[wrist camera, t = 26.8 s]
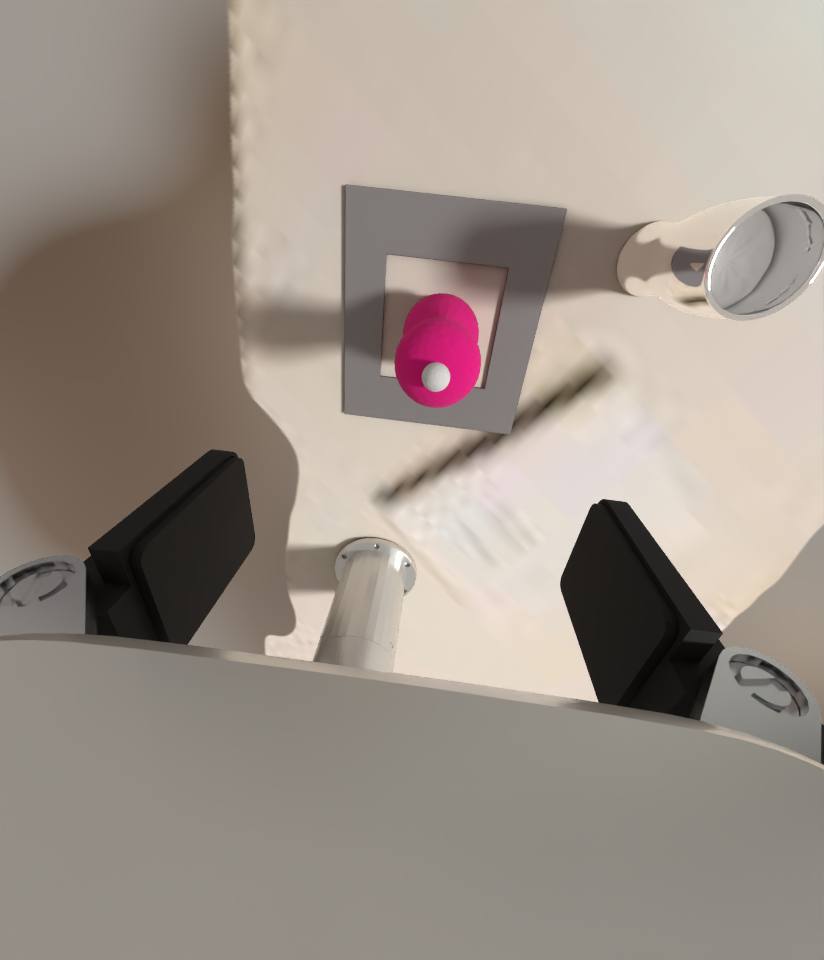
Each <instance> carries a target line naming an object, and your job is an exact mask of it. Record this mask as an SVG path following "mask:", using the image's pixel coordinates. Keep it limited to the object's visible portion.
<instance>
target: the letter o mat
mask: <svg viewBox="0 0 824 960" xmlns="http://www.w3.org/2000/svg"><path fill="white" fill-rule="evenodd" d="M566 211H567V209H565V208H556V207H547V206H538V205H529V204H520V203H511V202H502V201H493V200H484V199H474V198H465V197H456V196H447V195H438V194H429V193H420V192H411V191H402V190H393V189H383V188H374V187H365V186H356V185H347V184H346V221H345V414H350V415H358V416H366V417H374V418H382V419H390V420H398V421H406V422H415V423H423V424H431V425H439V426H447V427H455V428H463V429H471V430H479V431H487V432H495V433H503V434H510V433H511V429H512V425H513V421H514V417H515V413H516V409H517V405H518V401H519V397H520V393H521V389H522V385H523V381H524V377H525V373H526V369H527V365H528V361H529V358H530V354H531V350H532V346H533V342H534V338H535V334H536V330H537V326H538V322H539V318H540V314H541V310H542V306H543V302H544V298H545V294H546V290H547V286H548V282H549V278H550V274H551V270H552V267H553V263H554V259H555V255H556V251H557V247H558V243H559V239H560V235H561V231H562V227H563V223H564V219H565V215H566ZM387 254H394V255H403V256H411V257H420V258H429V259H438V260H446V261H455V262H464V263H473V264H482V265H490V266H499V267H508V268H509V270H508V275H507V280H506V284H505V289H504V294H503V299H502V304H501V309H500V314H499V319H498V324H497V329H496V334H495V339H494V344H493V349H492V354H491V359H490V364H489V369H488V374H487V379H486V384H485V388H478V387H473V389H472V390H471V391H470V392H469V394H468V395H467V396H466V397H465V398H463V399H462V400H461V401H459V402H457V403H455V404H453V405H451V406H447V407H441V408H431V407H427V406H423V405H421V404H418V403H416V402H415V401H413V400H412V399H411V398H410V397H408V396H407V394H406V393H405V392H404V391H403V390H402V388H401V386H400V384H399V382H398V380H397V378H396V377H387V376H380V369H381V350H382V331H383V313H384V294H385V275H386V257H387Z"/></svg>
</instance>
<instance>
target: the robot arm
mask: <svg viewBox="0 0 824 960" xmlns="http://www.w3.org/2000/svg"><path fill="white" fill-rule="evenodd" d="M254 542H255V532H254V526H253V519H252V513H251V506H250V499H249V493H248V486H247V480H246V473H245V467H244V462H243V460H242V459H241V458H238V456H237V455H236V453H234V452H229V451H221V450H210V451H208V452H207V453H206V454H204V455H203V456H202V457H201V458H199V459H198V460H197V461H196V462H194V463H193V464H192V465H191V466H189V467H188V468H187V469H186V470H184V471H183V472H182V473H181V474H179V475H178V476H177V477H176V478H174V479H173V480H172V481H171V482H170V483H168V484H167V485H166V486H165V487H163V488H162V489H161V490H160V491H158V492H157V493H156V494H155V495H153V496H152V497H151V498H150V499H148V500H147V501H146V502H144V503H143V504H142V505H141V506H140V507H138V508H137V509H136V510H135V511H133V512H132V513H131V514H130V515H128V516H127V517H126V518H125V519H123V520H122V521H121V522H120V523H118V524H117V525H116V526H115V527H113V528H112V529H111V530H110V531H108V532H107V533H106V534H105V535H103V536H102V537H101V538H100V539H98V540H97V541H96V542H95V543H93V544H92V545H91V546H90V547H88V549H89V551H90V553H91V556H90V557H89V558H88V559H86V560H85V561H84V562H82V561H81V560H80V559H78V558H75V557H70V556H52V557H47V558H42V559H38V560H35V561H31V562H29V563H26V564H23V565H21V566H18V567H16V568H14V569H12V570H10V571H8V572H7V573H5V574H4V575H2V576H0V960H824V725H822V724H821V712H820V708H819V704H818V702H817V701H816V699H815V697H814V696H813V694H812V693H811V691H810V690H809V689H808V688H807V687H806V686H805V685H804V684H803V682H801V680H800V679H799V678H798V677H796V676H795V675H794V674H793V673H791V672H790V671H789V670H788V669H787V668H785V667H784V666H782V665H781V664H779V663H778V662H776V661H774V660H773V659H771V658H769V657H767V656H765V655H763V654H761V653H759V652H756V651H754V650H750V649H747V648H743V647H729V648H726V649H725V648H724V646H723V645H722V643H721V642H720V640H719V638H720V637H721V635H722V634H723V633H722V631H721V630H720V629H719V627H718V626H717V625H716V623H715V622H714V620H713V619H712V618H711V616H710V615H709V614H708V612H707V611H706V610H705V608H704V607H703V605H702V604H701V603H700V601H699V600H698V599H697V597H696V596H695V594H694V593H693V592H692V590H691V589H690V588H689V586H688V585H687V583H686V582H685V581H684V579H683V578H682V577H681V575H680V574H679V573H678V571H677V570H676V568H675V567H674V566H673V564H672V563H671V562H670V560H669V559H668V557H667V556H666V555H665V553H664V552H663V551H662V549H661V548H660V546H659V545H658V544H657V542H656V541H655V540H654V538H653V537H652V536H651V534H650V533H649V531H648V530H647V529H646V527H645V526H644V525H643V523H642V522H641V520H640V519H639V518H638V516H637V515H636V514H635V512H634V511H633V509H632V508H631V507H630V505H629V504H628V503H627V502H622V501H614V500H606V499H603V500H601V501H600V502H599V503H598V504H593V505H592V506H591V508H590V510H589V512H588V515H587V517H586V519H585V522H584V524H583V527H582V529H581V531H580V534H579V536H578V538H577V541H576V543H575V546H574V548H573V550H572V553H571V555H570V558H569V560H568V562H567V565H566V567H565V569H564V572H563V574H562V577H561V582H560V587H561V592H562V595H563V598H564V601H565V604H566V607H567V610H568V613H569V615H570V618H571V621H572V624H573V627H574V630H575V633H576V636H577V639H578V642H579V645H580V648H581V651H582V654H583V657H584V660H585V663H586V666H587V669H588V672H589V675H590V678H591V681H592V684H593V687H594V690H595V693H596V696H597V699H598V702H599V703H597V702H591V701H585V700H578V699H572V698H565V697H558V696H551V695H544V694H537V693H530V692H523V691H517V690H510V689H503V688H496V687H489V686H482V685H475V684H469V683H462V682H455V681H448V680H440V679H433V678H426V677H419V676H412V675H405V674H398V673H393V668H394V661H395V654H396V646H397V639H398V632H399V624H400V617H401V610H402V602H403V596H405V595H406V594H408V593H409V592H410V591H411V589H412V588H413V586H414V584H415V580H416V566H415V563H414V561H413V559H412V558H411V556H410V555H409V554H408V553H407V552H406V551H405V550H404V549H403V548H401V547H400V546H398V545H396V544H394V543H392V542H390V541H387V540H383V539H377V538H365V539H359V540H356V541H353V542H351V543H349V544H347V545H346V546H345V547H344V548H342V550H341V551H340V552H339V554H338V556H337V558H336V561H335V565H334V566H335V575H336V578H337V580H338V581H339V584H338V587H337V590H336V593H335V596H334V599H333V602H332V605H331V608H330V611H329V614H328V617H327V619H326V622H325V625H324V628H323V631H322V634H321V637H320V640H319V643H318V646H317V649H316V652H315V655H314V658H313V662H312V661H304V660H297V659H289V658H282V657H275V656H267V655H260V654H252V653H245V652H237V651H230V650H222V649H215V648H207V647H200V646H193V645H187V644H188V643H189V641H190V640H191V639H192V637H193V636H194V634H195V632H196V631H197V630H198V628H199V627H200V625H201V624H202V622H203V621H204V619H205V618H206V616H207V615H208V613H209V612H210V610H211V609H212V608H213V606H214V605H215V603H216V602H217V600H218V599H219V597H220V596H221V594H222V593H223V591H224V590H225V588H226V587H227V585H228V584H229V582H230V581H231V579H232V578H233V577H234V575H235V574H236V572H237V570H238V569H239V567H240V566H241V565H242V563H243V562H244V560H245V559H246V557H247V556H248V554H249V553H250V551H251V550H252V548H253V546H254Z"/></svg>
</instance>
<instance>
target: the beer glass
mask: <svg viewBox="0 0 824 960" xmlns="http://www.w3.org/2000/svg"><path fill="white" fill-rule="evenodd" d="M823 265H824V205H823V204H822V203H821V202H820V201H818V200H817V199H815V198H813V197H811V196H808V195H803V194H786V195H781V196H764V197H752V198H745V199H739V200H734V201H730V202H726V203H722V204H718V205H715V206H712V207H710V208H708V209H705V210H703V211H700V212H698V213H696V214H694V215H692V216H690V217H688V218H686V219H684V220H682V221H681V222H679V223H674V222H670V221H658V222H653V223H650V224H648V225H646V226H644V227H642V228H641V229H639V230H638V231H637V232H636V233H634V234H633V235H632V236H631V237H630V238H629V240H628V241H627V242H626V244H625V245H624V247H623V249H622V251H621V253H620V255H619V258H618V263H617V277H618V280H619V283H620V285H621V286H622V288H623V289H624V290H625V291H626V292H628V293H629V294H631V295H634V296H640V297H646V296H652V295H656V296H657V297H658V298H660V299H661V300H662V301H664V302H665V303H667V304H668V305H670V306H672V307H674V308H675V309H677V310H680V311H682V312H686V313H689V314H692V315H697V316H703V317H709V318H719V319H731V320H736V321H748V320H755V319H759V318H762V317H765V316H768V315H770V314H773V313H775V312H777V311H779V310H780V309H782V308H784V307H785V306H787V305H788V304H790V303H791V302H792V301H794V300H795V299H796V298H797V297H798V296H800V295H801V294H802V293H803V292H804V291H805V290H806V289H807V288H808V287H809V285H810V284H811V283H812V282H813V281H814V279H815V278H816V277H817V275H818V274H819V272H820V270H821V269H822V267H823Z"/></svg>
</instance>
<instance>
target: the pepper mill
mask: <svg viewBox="0 0 824 960" xmlns="http://www.w3.org/2000/svg"><path fill="white" fill-rule="evenodd" d="M478 334H479V330H478V323H477V319H476V317H475V314H474V312H473V311H472V309H471V308H470V307H469V305H468V304H467V303H465V302H464V301H463V300H462V299H460V298H458V297H456V296H454V295H450V294H440V293H439V294H433V295H430V296H427V297H425V298H424V299H422V300H420V301H419V302H418V303H417V304H416V305H415V306H414V307H413V308H412V309H411V311H410V312H409V314H408V316H407V319H406V321H405V325H404V332H403V338H402V339H401V341H400V343H399V345H398V348H397V350H396V355H395V373H396V377H397V380H398V382H399V384H400V386H401V388H402V390H403V391H404V392H405V393H406V394H407V396H408V397H410V398H411V399H412V400H413V401H415V402H416V403H418V404H421V405H423V406H427V407H431V408H441V407H447V406H451V405H453V404H455V403H457V402H459V401H461V400H462V399H463V398H465V397H466V396H467V395H468V394H469V392H470V391H471V390H472V389H473V387H474V386H475V384H476V382H477V380H478V377H479V373H480V367H481V355H480V350H479V347H478V345H477V343H478Z"/></svg>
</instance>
